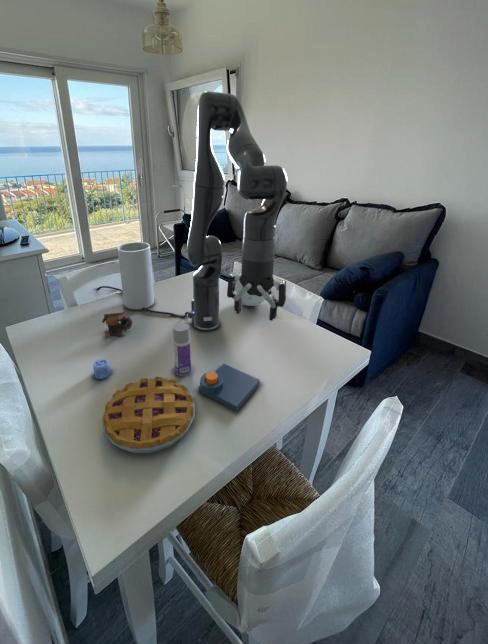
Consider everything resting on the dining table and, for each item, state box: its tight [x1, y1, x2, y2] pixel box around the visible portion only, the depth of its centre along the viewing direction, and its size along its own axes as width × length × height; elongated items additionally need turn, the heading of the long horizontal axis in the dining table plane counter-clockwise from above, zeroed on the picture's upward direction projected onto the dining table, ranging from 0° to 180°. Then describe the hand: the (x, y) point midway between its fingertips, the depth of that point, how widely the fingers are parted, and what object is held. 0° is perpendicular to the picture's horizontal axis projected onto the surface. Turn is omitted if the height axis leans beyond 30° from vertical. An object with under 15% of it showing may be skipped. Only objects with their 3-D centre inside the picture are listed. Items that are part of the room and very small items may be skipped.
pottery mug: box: [101, 311, 133, 338], centre depth 114 cm, size 12×10×8 cm
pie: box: [101, 376, 196, 454], centre depth 76 cm, size 22×22×5 cm
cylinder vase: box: [117, 241, 155, 311], centre depth 129 cm, size 12×12×25 cm
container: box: [172, 322, 192, 377], centre depth 91 cm, size 5×5×15 cm
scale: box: [198, 363, 261, 412], centre depth 86 cm, size 12×12×4 cm
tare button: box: [206, 371, 218, 385], centre depth 85 cm, size 3×3×2 cm
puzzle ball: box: [235, 271, 266, 307], centre depth 130 cm, size 15×15×15 cm
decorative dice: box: [92, 358, 110, 380], centre depth 92 cm, size 4×4×4 cm
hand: (254, 315), depth 80 cm, fingers open, 8 cm apart
